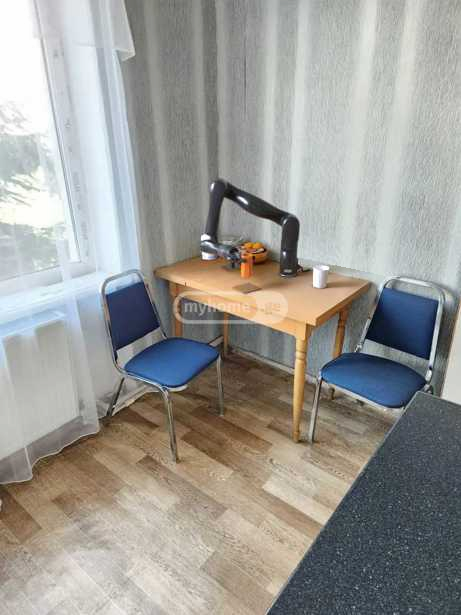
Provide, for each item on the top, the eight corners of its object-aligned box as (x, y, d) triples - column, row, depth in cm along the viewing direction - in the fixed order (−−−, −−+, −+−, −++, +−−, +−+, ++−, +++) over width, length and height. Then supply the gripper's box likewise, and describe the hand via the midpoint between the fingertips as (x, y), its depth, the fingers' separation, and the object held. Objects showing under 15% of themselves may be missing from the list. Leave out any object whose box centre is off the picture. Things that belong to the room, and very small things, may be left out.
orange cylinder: (241, 273, 202) (241, 253, 198) (252, 273, 202) (252, 253, 197) (240, 277, 197) (241, 256, 193) (252, 277, 197) (252, 256, 192)
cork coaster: (248, 283, 209) (248, 282, 209) (260, 289, 201) (260, 288, 201) (233, 287, 204) (233, 286, 204) (244, 293, 196) (244, 292, 196)
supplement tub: (219, 256, 252) (218, 234, 245) (214, 261, 243) (214, 238, 237) (204, 255, 254) (203, 233, 248) (199, 260, 246) (199, 237, 239)
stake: (236, 264, 238) (236, 249, 234) (242, 268, 230) (242, 253, 227) (222, 266, 235) (222, 251, 231) (228, 270, 227) (228, 255, 223)
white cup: (309, 284, 207) (310, 266, 203) (322, 282, 210) (323, 264, 206) (317, 289, 200) (318, 271, 196) (330, 287, 203) (332, 269, 199)
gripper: (217, 247, 200) (239, 255, 188) (238, 242, 208) (261, 249, 197) (217, 261, 203) (239, 270, 191) (238, 256, 212) (260, 264, 200)
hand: (250, 259), depth 194 cm, fingers closed on orange cylinder, 5 cm apart
